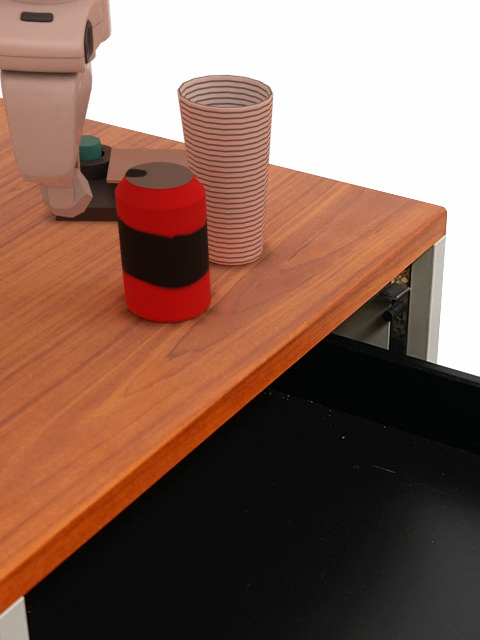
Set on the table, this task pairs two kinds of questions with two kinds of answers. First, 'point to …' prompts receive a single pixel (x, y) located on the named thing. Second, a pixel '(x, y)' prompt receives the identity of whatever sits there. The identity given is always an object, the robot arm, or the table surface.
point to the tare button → (89, 148)
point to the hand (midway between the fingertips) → (65, 191)
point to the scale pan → (140, 160)
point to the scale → (98, 190)
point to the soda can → (163, 242)
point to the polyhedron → (80, 200)
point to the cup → (229, 159)
